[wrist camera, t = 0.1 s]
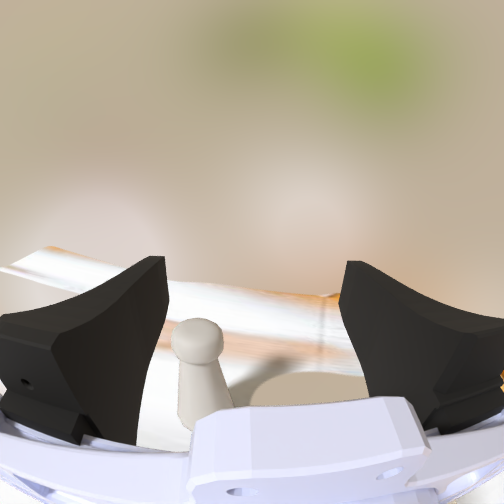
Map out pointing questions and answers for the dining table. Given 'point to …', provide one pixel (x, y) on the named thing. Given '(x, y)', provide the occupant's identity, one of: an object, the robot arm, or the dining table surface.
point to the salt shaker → (199, 370)
